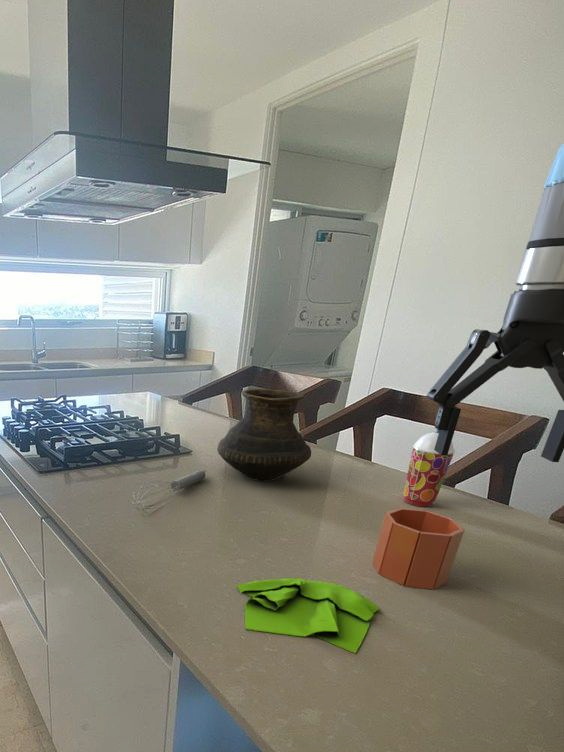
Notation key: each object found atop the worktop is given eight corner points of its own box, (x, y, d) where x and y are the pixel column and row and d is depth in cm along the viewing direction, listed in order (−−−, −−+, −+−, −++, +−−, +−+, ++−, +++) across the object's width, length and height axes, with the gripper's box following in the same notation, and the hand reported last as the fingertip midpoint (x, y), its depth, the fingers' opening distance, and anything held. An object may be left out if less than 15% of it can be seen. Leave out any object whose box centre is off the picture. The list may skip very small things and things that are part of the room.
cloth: (394, 608, 76) (398, 595, 75) (335, 676, 62) (339, 661, 61) (275, 562, 89) (277, 550, 88) (205, 608, 75) (206, 595, 74)
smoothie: (406, 493, 123) (428, 415, 115) (442, 503, 117) (469, 421, 109) (392, 501, 118) (414, 419, 110) (429, 512, 112) (456, 426, 104)
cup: (380, 505, 89) (398, 531, 79) (446, 511, 87) (474, 538, 77) (367, 554, 93) (383, 583, 83) (430, 560, 91) (454, 592, 81)
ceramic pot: (315, 472, 138) (331, 391, 128) (291, 498, 119) (308, 406, 110) (233, 457, 150) (242, 382, 141) (200, 478, 131) (208, 394, 122)
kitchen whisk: (214, 479, 131) (217, 456, 128) (149, 521, 106) (150, 494, 103) (194, 474, 134) (196, 452, 132) (126, 514, 109) (126, 488, 106)
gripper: (648, 289, 60) (579, 454, 69) (427, 288, 65) (389, 443, 74) (700, 288, 54) (617, 470, 62) (450, 287, 58) (405, 457, 67)
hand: (493, 456), depth 68 cm, fingers open, 13 cm apart
